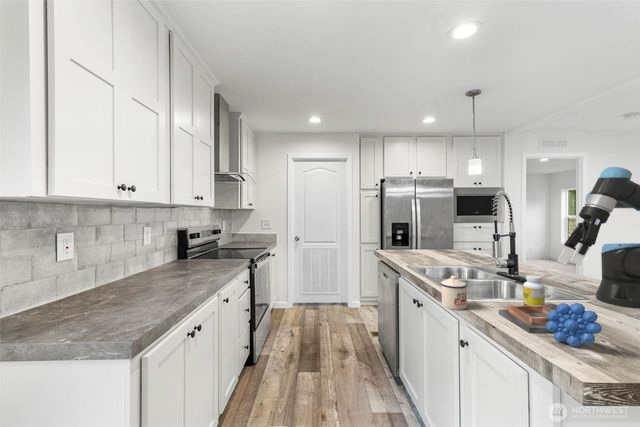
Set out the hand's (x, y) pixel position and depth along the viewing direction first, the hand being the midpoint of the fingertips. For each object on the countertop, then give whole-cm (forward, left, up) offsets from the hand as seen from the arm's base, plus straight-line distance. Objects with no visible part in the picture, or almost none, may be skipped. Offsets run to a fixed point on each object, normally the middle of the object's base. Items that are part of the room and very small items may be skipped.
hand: (567, 263), depth 103 cm
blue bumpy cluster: (+18, +25, -18) cm, 35 cm away
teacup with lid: (+36, -8, -18) cm, 41 cm away
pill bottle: (+8, -6, -18) cm, 20 cm away
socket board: (+17, +9, -18) cm, 26 cm away
